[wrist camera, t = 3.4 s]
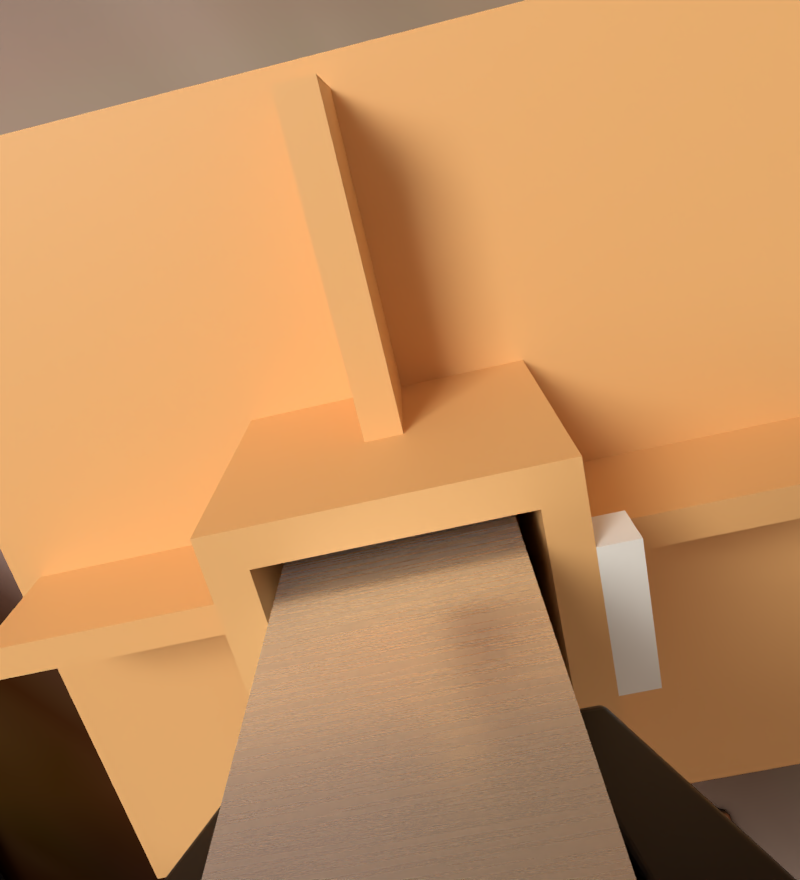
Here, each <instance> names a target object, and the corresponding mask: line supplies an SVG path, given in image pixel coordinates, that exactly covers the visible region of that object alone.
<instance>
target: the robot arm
mask: <svg viewBox="0 0 800 880" xmlns="http://www.w3.org/2000/svg"><path fill="white" fill-rule="evenodd" d="M580 712H581V715H582V718H583V721H584V724H585V727H586V730H587V733H588V736H589V739H590V742H591V745H592V748H593V751H594V754H595V757H596V760H597V763H598V766H599V769H600V772H601V775H602V778H603V781H604V784H605V787H606V790H607V793H608V796H609V799H610V802H611V805H612V808H613V811H614V814H615V817H616V820H617V823H618V826H619V829H620V832H621V835H622V838H623V841H624V844H625V847H626V850H627V853H628V856H629V859H630V862H631V865H632V868H633V871H634V874H635V877H636V880H796V879H795V878H794V877H793V876H792V875H790V874H789V873H788V872H787V871H786V870H785V869H784V868H783V867H782V866H781V865H779V864H778V863H777V862H776V861H775V860H774V859H773V858H772V857H771V856H769V855H768V854H767V853H766V852H765V851H764V850H763V849H762V848H761V847H760V846H758V845H757V844H756V843H755V842H754V841H753V840H752V839H751V838H750V837H749V836H747V835H746V834H745V833H744V832H743V831H742V830H741V829H740V828H739V827H738V826H736V825H735V824H734V823H733V822H732V821H731V820H730V819H729V818H728V817H727V816H725V815H724V814H723V813H722V812H721V811H720V810H719V809H718V808H717V807H716V806H714V805H713V804H712V803H711V802H710V801H709V800H708V799H707V798H706V797H705V796H703V795H702V794H701V793H700V792H699V791H698V790H697V789H696V788H695V787H694V786H692V785H691V784H690V783H689V782H688V781H687V780H686V779H685V778H684V777H683V776H681V775H680V774H679V773H678V772H677V771H676V770H675V769H674V768H673V767H672V766H670V765H669V764H668V763H667V762H666V761H665V760H664V759H663V758H662V757H661V756H659V755H658V754H657V753H656V752H655V751H654V750H653V749H652V748H651V747H650V746H648V745H647V744H646V743H645V742H644V741H643V740H642V739H641V738H640V737H639V736H637V735H636V734H635V733H634V732H633V731H632V730H631V729H630V728H629V727H628V726H626V725H625V724H624V723H623V722H622V721H621V720H620V719H619V718H618V717H617V716H615V715H614V714H613V713H612V712H611V711H610V710H609V709H608V708H606V707H604V706H601V705H597V706H592V707H587V708H581V709H580ZM219 810H220V807H219V808H218V810H217V811H216V812H215V814H214V815H213V816H212V818H211V819H210V820H209V822H208V823H207V824H206V826H205V827H204V828H203V829H202V831H201V832H200V833H199V835H198V836H197V837H196V839H195V840H194V841H193V843H192V844H191V845H190V847H189V848H188V849H187V850H186V852H185V853H184V854H183V856H182V857H181V858H180V860H179V861H178V862H177V864H176V865H175V866H174V868H173V869H172V870H171V872H170V873H169V874H168V875H167V877H166V878H165V879H164V880H201V879H202V875H203V872H204V868H205V864H206V860H207V856H208V852H209V849H210V845H211V841H212V837H213V833H214V829H215V826H216V822H217V818H218V814H219ZM0 880H5V879H4V878H3V876H2V874H1V873H0Z"/></svg>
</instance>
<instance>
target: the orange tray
mask: <svg viewBox="0 0 800 880" xmlns="http://www.w3.org/2000/svg"><path fill="white" fill-rule="evenodd" d="M512 515H515V517H516V520H517V523H518V526H519V529H520V532H521V535H522V538H523V541H524V544H525V547H526V550H527V553H528V556H529V559H530V562H531V565H532V568H533V571H534V574H535V577H536V580H537V583H538V586H539V589H540V592H541V595H542V598H543V601H544V604H545V607H546V610H547V613H548V616H549V619H550V622H551V625H552V628H553V631H554V634H555V637H556V640H557V643H558V646H559V649H560V652H561V655H562V658H563V661H564V664H565V667H566V670H567V673H568V676H569V679H570V682H571V685H572V688H573V691H574V694H575V697H576V700H577V703H578V706H579V709H581V708H587V707H592V706H597V705H601V706H604V707H606V708H608V709H609V710H610V711H611V712H612V713H613V714H614V715H615V716H617V717H618V718H619V719H620V720H621V721H622V722H623V723H624V724H625V725H626V726H628V727H629V728H630V729H631V730H632V731H633V732H634V733H635V734H636V735H637V736H639V737H640V738H641V739H642V740H643V741H644V742H645V743H646V744H647V745H648V746H650V747H651V748H652V749H653V750H654V751H655V752H656V753H657V754H658V755H659V756H661V757H662V758H663V759H664V760H665V761H666V762H667V763H668V764H669V765H670V766H672V767H673V768H674V769H675V770H676V771H677V772H678V773H679V774H680V775H681V776H683V777H684V778H685V779H686V780H687V781H688V782H689V783H695V782H701V781H706V780H712V779H717V778H723V777H729V776H734V775H740V774H745V773H751V772H757V771H762V770H768V769H773V768H779V767H785V766H790V765H796V764H800V0H525V1H521V2H517V3H514V4H510V5H506V6H502V7H498V8H494V9H490V10H486V11H482V12H478V13H475V14H471V15H467V16H463V17H459V18H455V19H451V20H447V21H443V22H440V23H436V24H432V25H428V26H424V27H420V28H416V29H412V30H408V31H404V32H401V33H397V34H393V35H389V36H385V37H381V38H377V39H373V40H369V41H366V42H362V43H358V44H354V45H350V46H346V47H342V48H338V49H334V50H330V51H327V52H323V53H319V54H315V55H311V56H307V57H303V58H299V59H295V60H291V61H288V62H284V63H280V64H276V65H272V66H268V67H264V68H260V69H256V70H253V71H249V72H245V73H241V74H237V75H233V76H229V77H225V78H221V79H217V80H214V81H210V82H206V83H202V84H198V85H194V86H190V87H186V88H182V89H179V90H175V91H171V92H167V93H163V94H159V95H155V96H151V97H147V98H143V99H140V100H136V101H132V102H128V103H124V104H120V105H116V106H112V107H108V108H105V109H101V110H97V111H93V112H89V113H85V114H81V115H77V116H73V117H69V118H66V119H62V120H58V121H54V122H50V123H46V124H42V125H38V126H34V127H30V128H27V129H23V130H19V131H15V132H11V133H7V134H3V135H0V549H1V551H2V553H3V555H4V557H5V559H6V561H7V563H8V566H9V568H10V570H11V572H12V574H13V576H14V578H15V580H16V582H17V584H18V587H19V589H20V591H21V593H22V595H23V599H22V600H21V601H20V602H19V603H18V605H17V606H16V607H15V608H14V609H13V611H12V612H11V613H10V614H9V616H8V617H7V618H6V619H5V620H4V622H3V623H2V624H1V625H0V680H2V679H7V678H12V677H17V676H22V675H27V674H31V673H36V672H41V671H46V670H51V669H56V668H58V671H59V673H60V675H61V677H62V679H63V681H64V683H65V685H66V687H67V689H68V692H69V694H70V696H71V698H72V700H73V702H74V704H75V706H76V708H77V710H78V713H79V715H80V717H81V719H82V721H83V723H84V725H85V727H86V729H87V731H88V734H89V736H90V738H91V740H92V742H93V744H94V746H95V748H96V750H97V752H98V755H99V757H100V759H101V761H102V763H103V765H104V767H105V769H106V771H107V773H108V776H109V778H110V780H111V782H112V784H113V786H114V788H115V790H116V792H117V794H118V797H119V799H120V801H121V803H122V805H123V807H124V809H125V811H126V813H127V815H128V818H129V820H130V822H131V824H132V826H133V828H134V830H135V832H136V834H137V836H138V838H139V841H140V843H141V845H142V847H143V849H144V851H145V853H146V855H147V857H148V859H149V862H150V864H151V866H152V868H153V870H154V872H155V874H156V876H157V878H158V879H159V878H164V877H167V875H168V874H169V873H170V872H171V870H172V869H173V868H174V866H175V865H176V864H177V862H178V861H179V860H180V858H181V857H182V856H183V854H184V853H185V852H186V850H187V849H188V848H189V847H190V845H191V844H192V843H193V841H194V840H195V839H196V837H197V836H198V835H199V833H200V832H201V831H202V829H203V828H204V827H205V826H206V824H207V823H208V822H209V820H210V819H211V818H212V816H213V815H214V814H215V812H216V811H217V810H218V808H219V807H220V806H221V803H222V799H223V795H224V791H225V787H226V783H227V780H228V776H229V772H230V768H231V764H232V760H233V757H234V753H235V749H236V745H237V741H238V737H239V734H240V730H241V726H242V722H243V718H244V715H245V711H246V707H247V703H248V699H249V695H250V692H251V688H252V684H253V680H254V676H255V672H256V669H257V665H258V661H259V657H260V653H261V649H262V646H263V642H264V638H265V634H266V630H267V626H268V623H269V619H270V615H271V611H272V607H273V603H274V600H275V596H276V592H277V588H278V584H279V580H280V577H281V573H282V569H283V565H284V563H285V562H290V561H295V560H300V559H305V558H309V557H314V556H319V555H324V554H329V553H333V552H338V551H343V550H348V549H353V548H358V547H362V546H367V545H372V544H377V543H382V542H386V541H391V540H396V539H401V538H406V537H411V536H415V535H420V534H425V533H430V532H435V531H439V530H444V529H449V528H454V527H459V526H463V525H468V524H473V523H478V522H483V521H488V520H492V519H497V518H502V517H507V516H512Z"/></svg>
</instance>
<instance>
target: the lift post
mask: <svg viewBox="0 0 800 880" xmlns="http://www.w3.org/2000/svg"><path fill="white" fill-rule="evenodd" d="M201 880H636V877H635V874H634V871H633V868H632V865H631V862H630V859H629V856H628V853H627V850H626V847H625V844H624V841H623V838H622V835H621V832H620V829H619V826H618V823H617V820H616V817H615V814H614V811H613V808H612V805H611V802H610V799H609V796H608V793H607V790H606V787H605V784H604V781H603V778H602V775H601V772H600V769H599V766H598V763H597V760H596V757H595V754H594V751H593V748H592V745H591V742H590V739H589V736H588V733H587V730H586V727H585V724H584V721H583V718H582V715H581V712H580V709H579V706H578V703H577V700H576V697H575V694H574V691H573V688H572V685H571V682H570V679H569V676H568V673H567V670H566V667H565V664H564V661H563V658H562V655H561V652H560V649H559V646H558V643H557V640H556V637H555V634H554V631H553V628H552V625H551V622H550V619H549V616H548V613H547V610H546V607H545V604H544V601H543V598H542V595H541V592H540V589H539V586H538V583H537V580H536V577H535V574H534V571H533V568H532V565H531V562H530V559H529V556H528V553H527V550H526V547H525V544H524V541H523V538H522V535H521V532H520V529H519V526H518V523H517V520H516V517H515V515H512V516H507V517H502V518H497V519H492V520H488V521H483V522H478V523H473V524H468V525H463V526H459V527H454V528H449V529H444V530H439V531H435V532H430V533H425V534H420V535H415V536H411V537H406V538H401V539H396V540H391V541H386V542H382V543H377V544H372V545H367V546H362V547H358V548H353V549H348V550H343V551H338V552H333V553H329V554H324V555H319V556H314V557H309V558H305V559H300V560H295V561H290V562H285V563H284V565H283V569H282V573H281V577H280V580H279V584H278V588H277V592H276V596H275V600H274V603H273V607H272V611H271V615H270V619H269V623H268V626H267V630H266V634H265V638H264V642H263V646H262V649H261V653H260V657H259V661H258V665H257V669H256V672H255V676H254V680H253V684H252V688H251V692H250V695H249V699H248V703H247V707H246V711H245V715H244V718H243V722H242V726H241V730H240V734H239V737H238V741H237V745H236V749H235V753H234V757H233V760H232V764H231V768H230V772H229V776H228V780H227V783H226V787H225V791H224V795H223V799H222V803H221V806H220V810H219V814H218V818H217V822H216V826H215V829H214V833H213V837H212V841H211V845H210V849H209V852H208V856H207V860H206V864H205V868H204V872H203V875H202V879H201Z"/></svg>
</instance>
